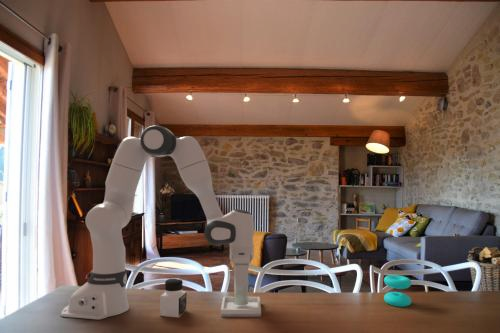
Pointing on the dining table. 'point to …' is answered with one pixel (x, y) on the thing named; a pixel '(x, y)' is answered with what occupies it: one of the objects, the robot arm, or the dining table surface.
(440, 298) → the dining table surface
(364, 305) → the dining table surface
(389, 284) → the donuts
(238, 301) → the sage cup
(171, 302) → the medicine bottle
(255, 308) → the grey tray
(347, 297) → the dining table surface
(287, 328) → the dining table surface
